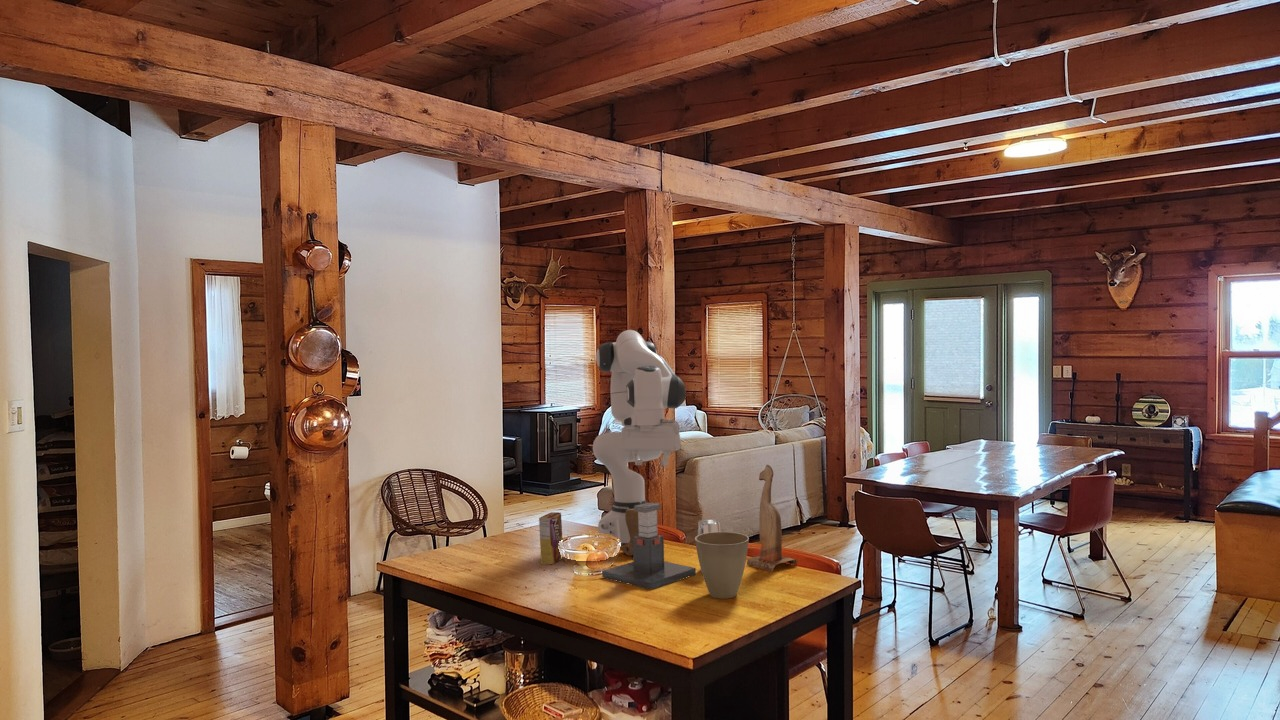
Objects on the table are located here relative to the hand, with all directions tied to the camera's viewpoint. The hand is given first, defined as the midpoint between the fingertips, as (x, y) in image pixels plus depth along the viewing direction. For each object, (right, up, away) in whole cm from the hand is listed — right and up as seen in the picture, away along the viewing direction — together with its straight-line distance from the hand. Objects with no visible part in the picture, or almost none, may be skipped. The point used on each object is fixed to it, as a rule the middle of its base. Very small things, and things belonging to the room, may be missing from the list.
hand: (651, 465), depth 247 cm
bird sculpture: (+38, -33, +10) cm, 51 cm away
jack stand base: (-1, -34, +2) cm, 34 cm away
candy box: (-32, -34, +22) cm, 52 cm away
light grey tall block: (-1, -31, +2) cm, 31 cm away
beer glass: (+18, -33, +7) cm, 39 cm away
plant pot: (+20, -34, -19) cm, 44 cm away
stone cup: (-4, -34, +32) cm, 46 cm away
